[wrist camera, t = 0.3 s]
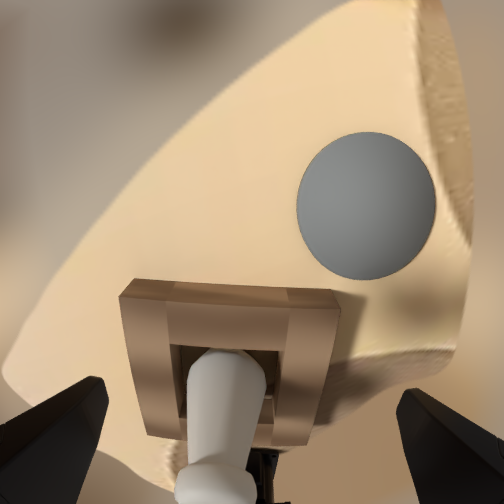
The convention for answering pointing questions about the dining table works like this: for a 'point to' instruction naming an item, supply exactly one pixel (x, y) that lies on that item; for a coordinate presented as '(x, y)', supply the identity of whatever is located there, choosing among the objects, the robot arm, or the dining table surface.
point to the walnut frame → (232, 337)
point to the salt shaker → (221, 428)
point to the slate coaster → (365, 205)
